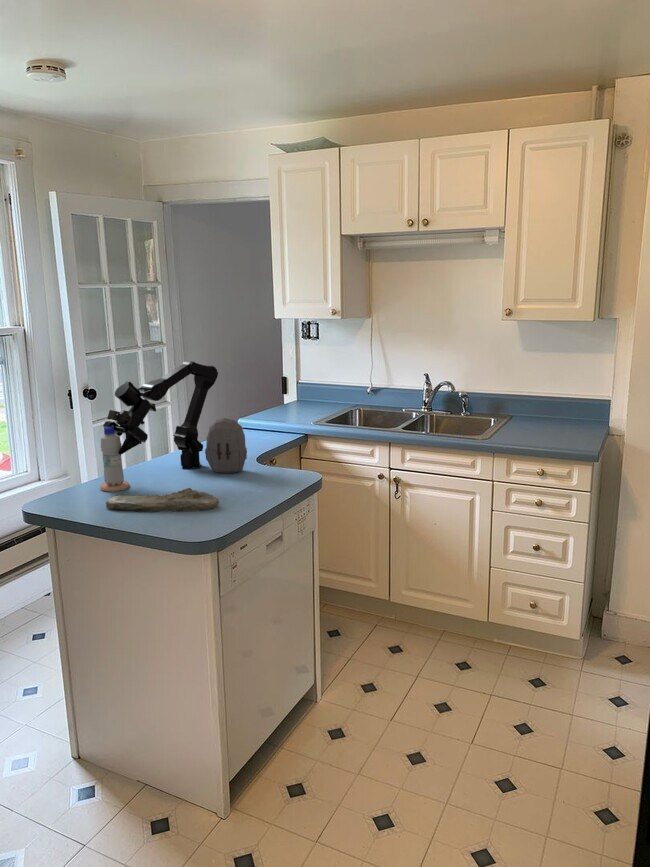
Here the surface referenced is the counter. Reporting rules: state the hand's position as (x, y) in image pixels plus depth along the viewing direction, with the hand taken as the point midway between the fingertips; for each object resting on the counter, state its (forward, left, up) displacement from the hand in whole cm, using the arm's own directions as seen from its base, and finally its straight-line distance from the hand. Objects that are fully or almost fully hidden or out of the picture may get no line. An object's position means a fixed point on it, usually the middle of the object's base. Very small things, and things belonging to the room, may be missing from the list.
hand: (111, 452), depth 226 cm
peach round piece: (0, 0, -12) cm, 12 cm away
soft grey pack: (-38, -11, -13) cm, 41 cm away
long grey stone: (-18, +24, -13) cm, 33 cm away
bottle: (0, 0, -12) cm, 12 cm away
